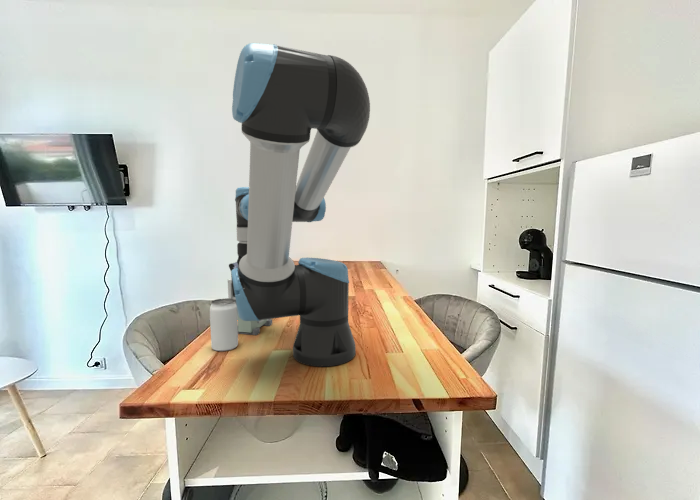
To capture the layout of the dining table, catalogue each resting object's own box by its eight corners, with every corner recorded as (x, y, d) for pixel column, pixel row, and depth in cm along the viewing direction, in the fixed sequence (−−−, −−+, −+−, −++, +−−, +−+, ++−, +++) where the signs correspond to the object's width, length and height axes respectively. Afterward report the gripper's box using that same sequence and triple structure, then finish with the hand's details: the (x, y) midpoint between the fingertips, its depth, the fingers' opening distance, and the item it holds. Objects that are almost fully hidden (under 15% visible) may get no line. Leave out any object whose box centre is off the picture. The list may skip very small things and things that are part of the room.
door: (254, 333, 98) (253, 298, 97) (238, 331, 100) (237, 297, 98) (271, 322, 108) (270, 290, 107) (255, 320, 109) (254, 289, 108)
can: (229, 352, 86) (228, 305, 85) (206, 350, 87) (203, 303, 86) (242, 343, 92) (241, 298, 91) (220, 341, 94) (218, 297, 92)
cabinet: (256, 335, 98) (255, 289, 97) (208, 330, 102) (206, 286, 100) (284, 315, 116) (283, 277, 115) (242, 312, 120) (241, 275, 118)
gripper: (283, 241, 103) (285, 319, 105) (231, 240, 107) (234, 315, 109) (272, 243, 95) (274, 327, 98) (216, 242, 99) (220, 322, 102)
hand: (253, 320), depth 104 cm, fingers closed on door, 4 cm apart
